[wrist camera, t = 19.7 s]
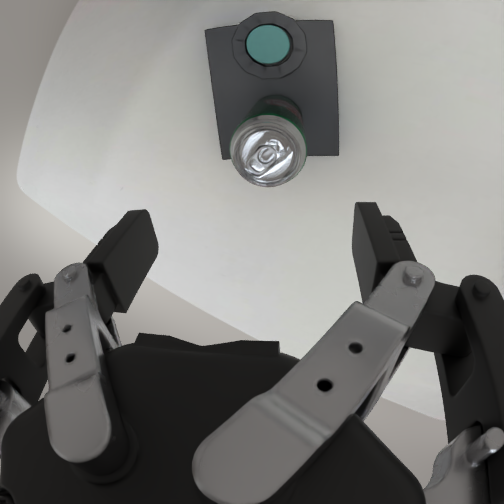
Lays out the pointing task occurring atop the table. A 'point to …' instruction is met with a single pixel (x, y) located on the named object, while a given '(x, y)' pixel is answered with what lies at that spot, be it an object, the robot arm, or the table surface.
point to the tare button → (268, 44)
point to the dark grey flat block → (277, 78)
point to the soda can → (270, 142)
